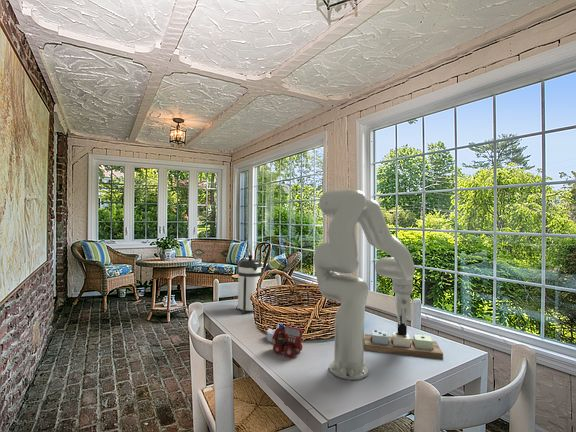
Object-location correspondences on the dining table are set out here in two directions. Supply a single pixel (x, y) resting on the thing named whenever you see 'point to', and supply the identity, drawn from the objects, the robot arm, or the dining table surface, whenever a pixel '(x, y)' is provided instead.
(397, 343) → the cream drawer
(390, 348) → the wooden compartment tray
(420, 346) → the pale green drawer
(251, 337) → the dining table surface
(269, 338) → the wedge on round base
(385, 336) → the pale blue drawer
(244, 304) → the coffee press
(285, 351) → the toy fire truck
